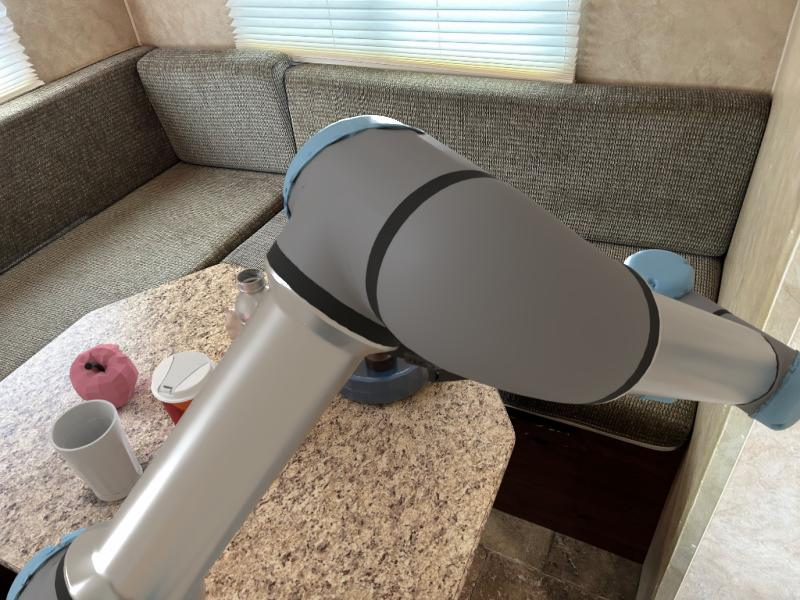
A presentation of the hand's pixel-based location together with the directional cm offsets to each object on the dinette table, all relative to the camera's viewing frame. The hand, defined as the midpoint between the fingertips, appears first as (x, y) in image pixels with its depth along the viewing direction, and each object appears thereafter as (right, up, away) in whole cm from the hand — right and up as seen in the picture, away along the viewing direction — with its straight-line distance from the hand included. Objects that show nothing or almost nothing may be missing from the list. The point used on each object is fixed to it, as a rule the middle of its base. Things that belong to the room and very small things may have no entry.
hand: (404, 313), depth 86 cm
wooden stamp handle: (-4, -8, +9) cm, 12 cm away
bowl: (-4, -8, +10) cm, 13 cm away
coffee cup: (-27, -19, 0) cm, 33 cm away
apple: (-44, -14, +8) cm, 47 cm away
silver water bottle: (-20, -10, +9) cm, 24 cm away
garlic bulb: (-26, -4, +17) cm, 31 cm away
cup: (-39, -23, -4) cm, 45 cm away
